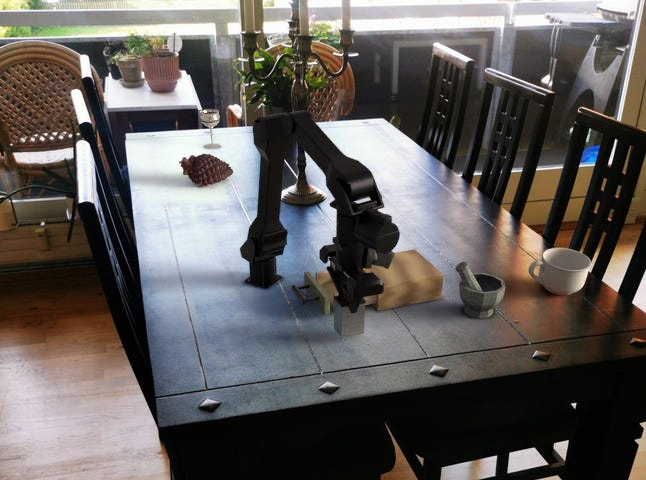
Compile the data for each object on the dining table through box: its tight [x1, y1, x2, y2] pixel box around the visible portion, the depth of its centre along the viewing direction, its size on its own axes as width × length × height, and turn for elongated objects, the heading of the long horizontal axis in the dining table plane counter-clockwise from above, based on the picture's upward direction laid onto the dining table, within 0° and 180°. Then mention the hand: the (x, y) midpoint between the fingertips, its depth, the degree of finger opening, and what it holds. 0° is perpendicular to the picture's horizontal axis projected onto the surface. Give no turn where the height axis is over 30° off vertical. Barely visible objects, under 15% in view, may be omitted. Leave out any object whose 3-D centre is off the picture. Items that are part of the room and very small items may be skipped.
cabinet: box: [363, 249, 445, 312], centre depth 165 cm, size 16×14×6 cm
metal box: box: [333, 294, 366, 339], centre depth 146 cm, size 5×4×8 cm
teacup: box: [527, 247, 592, 296], centre depth 166 cm, size 14×11×8 cm
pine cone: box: [178, 153, 234, 187], centre depth 222 cm, size 18×10×10 cm
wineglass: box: [199, 108, 221, 150], centre depth 253 cm, size 7×7×12 cm
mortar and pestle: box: [455, 261, 506, 319], centre depth 156 cm, size 11×9×12 cm
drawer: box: [290, 270, 377, 316], centre depth 160 cm, size 19×13×4 cm
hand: (349, 307), depth 145 cm, fingers closed on metal box, 4 cm apart
